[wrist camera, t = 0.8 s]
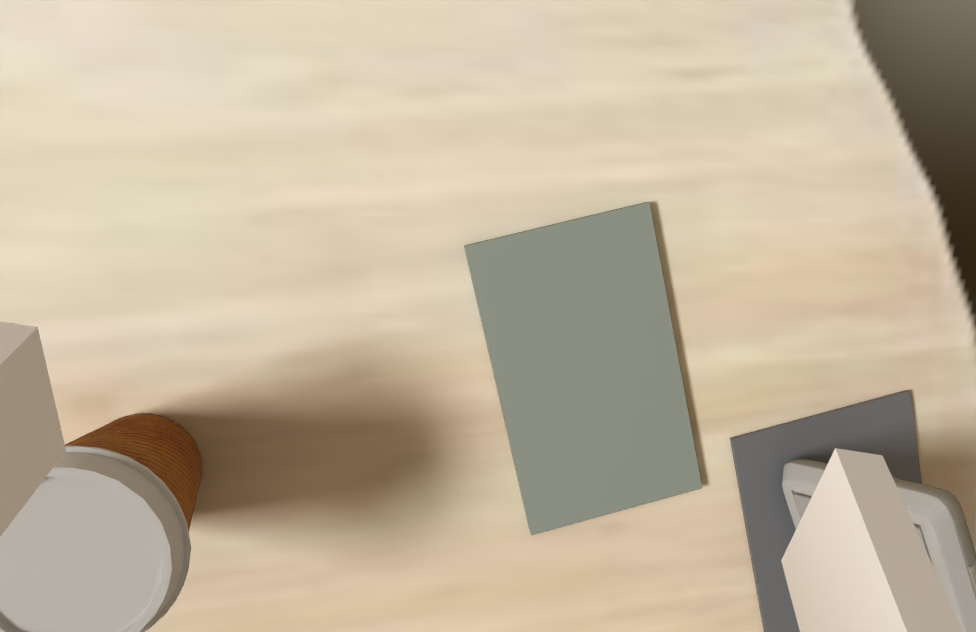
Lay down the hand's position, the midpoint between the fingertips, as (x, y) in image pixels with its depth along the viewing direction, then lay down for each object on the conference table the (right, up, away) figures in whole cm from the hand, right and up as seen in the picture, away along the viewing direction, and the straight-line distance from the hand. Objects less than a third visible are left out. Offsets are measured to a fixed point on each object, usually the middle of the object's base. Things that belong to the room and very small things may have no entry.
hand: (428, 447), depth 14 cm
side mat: (+7, -1, +35) cm, 36 cm away
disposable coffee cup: (-18, -6, +32) cm, 38 cm away
